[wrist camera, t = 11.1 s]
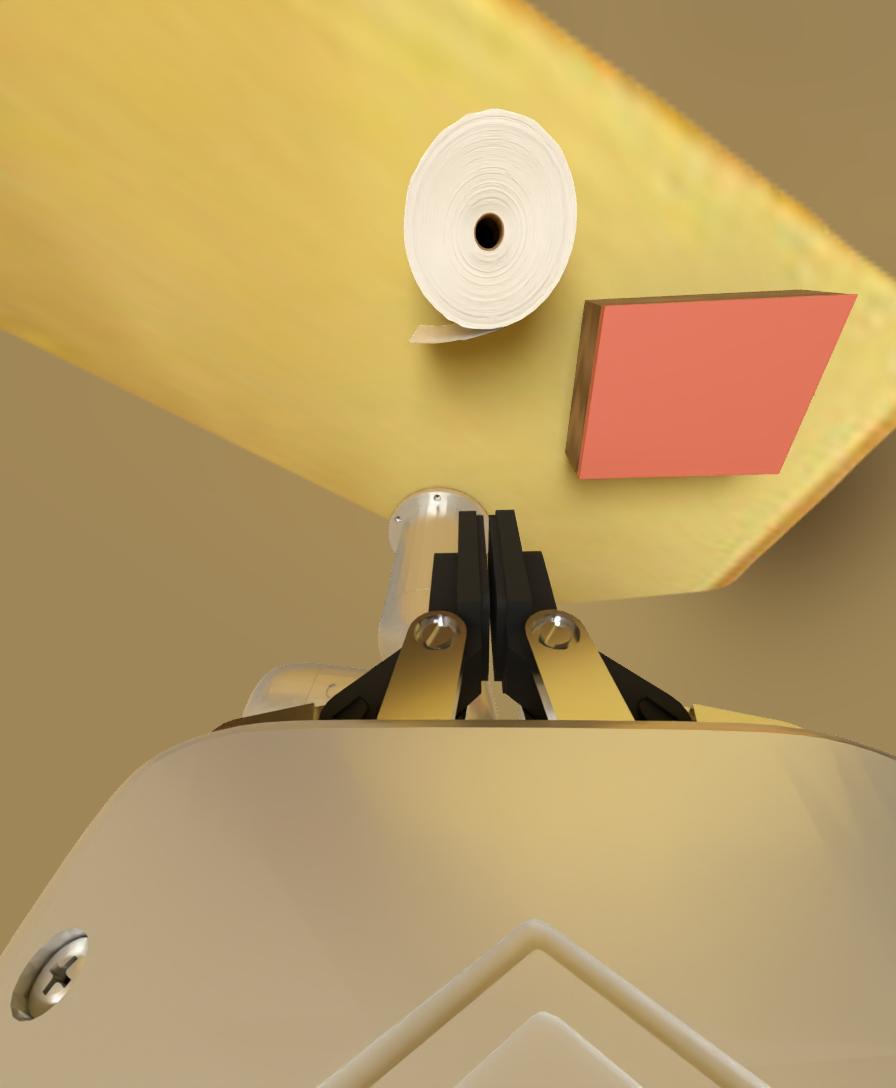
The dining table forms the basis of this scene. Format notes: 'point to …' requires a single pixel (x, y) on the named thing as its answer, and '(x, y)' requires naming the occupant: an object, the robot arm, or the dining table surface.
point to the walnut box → (589, 343)
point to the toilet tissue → (488, 223)
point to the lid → (705, 384)
